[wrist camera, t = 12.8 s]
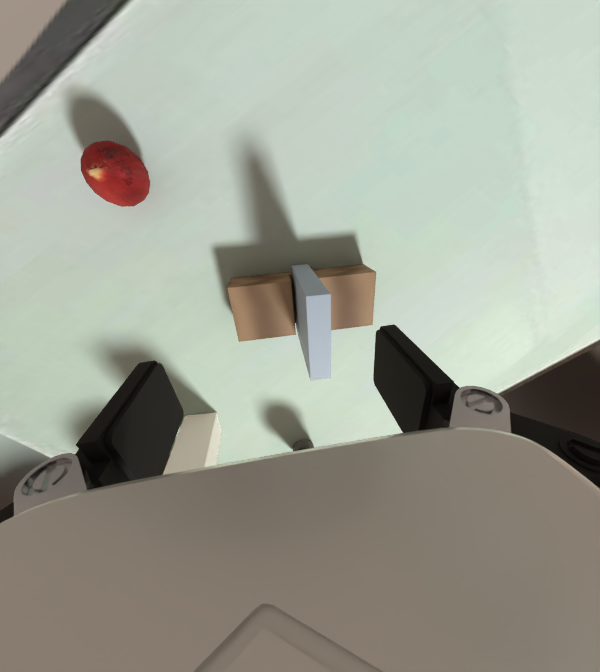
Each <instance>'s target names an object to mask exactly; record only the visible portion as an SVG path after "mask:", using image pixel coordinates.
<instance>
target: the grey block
mask: <svg viewBox="0 0 600 672" xmlns="http://www.w3.org/2000/svg"><path fill="white" fill-rule="evenodd" d="M292 279H293V292H294V305H295V318H296V328H297V332H298V336H299V340H300V343H301V347H302V351H303V354H304V358H305V362H306V366H307V369H308V373H309V377H310V380H318V379H326V378H331V294H330V292H329V291H328V290H327V288H326V287H325V286H324V284H323V283H322V282H321V281H320V279H319V278H318V277H317V275H316V274H315V273H314V271H313V270H312V269H311V267H310V266H309V265H308V264H303V265H292Z"/></svg>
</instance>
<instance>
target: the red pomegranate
mask: <svg viewBox="0 0 600 672" xmlns="http://www.w3.org/2000/svg"><path fill="white" fill-rule="evenodd" d="M81 171H82V174H83V176H84V178H85V180H86V182H87V184H88V185H89V186H90V187H91V188H92V190H93V191H94V192H95V193H96V194H98V195H99V196H100V197H102V198H103V199H105V200H106V201H108V202H111V203H113V204H116V205H119V206H135V205H137V204H138V203H140V202H142V201H143V200H144V199H145V198H146V196H147V195H148V193H149V187H150V180H149V176H148V171H147V169H146V168H145V166H144V164H143V162H142V161H141V159H140V158H139V157H138V156H136V155H135V154H134V153H133V152H132V151H131V150H129V149H128V148H127V147H126V146H123V145H120V144H117V143H114V142H111V141H102V142H95V143H93V144H91V145H90V146H88V147H87V148H86V149H85V150H84V152H83V155H82V157H81Z"/></svg>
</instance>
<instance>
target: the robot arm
mask: <svg viewBox="0 0 600 672" xmlns="http://www.w3.org/2000/svg"><path fill="white" fill-rule="evenodd" d="M374 384H375V386H376V388H377V389H378V391H379V393H380V394H381V396H382V398H383V400H384V401H385V403H386V405H387V406H388V408H389V410H390V411H391V413H392V415H393V416H394V418H395V420H396V422H397V423H398V425H399V427H400V428H401V430H402V432H403V433H400V434H394V435H387V436H381V437H375V438H369V439H363V440H357V441H351V442H345V443H339V444H334V445H328V446H322V447H316V448H310V449H304V450H299V451H293V452H287V453H282V454H276V455H270V456H264V457H259V458H253V459H248V460H242V461H236V462H231V463H225V464H220V465H214V466H209V467H203V468H198V469H192V470H187V471H181V472H176V473H170V474H165V475H161V474H162V471H163V469H164V466H165V463H166V461H167V458H168V455H169V453H170V450H171V447H172V445H173V442H174V440H175V437H176V434H177V432H178V429H179V426H180V424H181V421H182V418H183V409H182V407H181V404H180V402H179V400H178V398H177V396H176V394H175V391H174V389H173V387H172V385H171V383H170V381H169V378H168V376H167V374H166V372H165V370H164V368H163V366H162V364H160V363H157V362H156V361H149V362H142V363H139V364H138V365H137V366H136V367H135V369H134V370H133V371H132V373H131V374H130V375H129V376H128V378H127V379H126V380H125V382H124V383H123V384H122V386H121V387H120V388H119V389H118V391H117V392H116V393H115V395H114V396H113V397H112V398H111V400H110V401H109V402H108V404H107V405H106V406H105V407H104V409H103V410H102V411H101V413H100V414H99V415H98V417H97V418H96V419H95V420H94V422H93V423H92V424H91V426H90V427H89V428H88V429H87V431H86V432H85V433H84V435H83V436H82V437H81V438H80V440H79V441H78V442H77V444H76V446H77V447H78V448H79V450H78V451H77V453H76V454H72V453H66V454H61V455H58V456H55V457H53V458H51V459H49V460H47V461H45V462H43V463H42V464H40V465H38V466H37V467H36V468H34V469H33V470H32V471H31V472H29V473H28V474H27V475H26V476H25V477H24V478H23V479H22V480H21V482H20V483H19V484H18V486H17V488H16V489H15V493H14V502H13V503H12V504H10V505H9V506H7V507H5V508H4V509H3V510H1V511H0V672H600V443H598V442H596V441H595V440H592V439H590V438H587V437H585V436H582V435H579V434H576V433H573V432H570V431H567V430H563V429H560V428H557V427H554V426H551V425H548V424H545V423H542V422H538V421H536V420H532V419H529V418H526V417H523V416H520V415H517V414H514V413H511V412H510V410H509V406H508V404H507V402H506V401H505V400H504V399H503V398H502V397H501V396H499V395H498V394H497V393H495V392H493V391H491V390H488V389H485V388H482V387H477V386H465V387H461V388H459V387H458V386H457V385H456V384H455V383H454V381H452V380H451V379H450V378H449V377H448V376H447V375H446V374H445V373H444V372H443V371H442V370H441V369H440V368H439V367H438V366H437V365H436V364H435V363H434V362H433V361H432V360H431V359H430V358H429V357H428V356H427V355H426V354H425V353H424V352H422V351H421V350H420V349H419V348H418V347H417V346H416V345H415V344H414V343H413V342H412V341H411V340H410V339H409V338H408V337H407V336H406V335H405V334H404V333H403V332H402V331H401V330H400V329H399V328H398V327H397V326H396V325H388V326H381V327H380V330H377V331H376V342H375V360H374Z"/></svg>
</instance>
